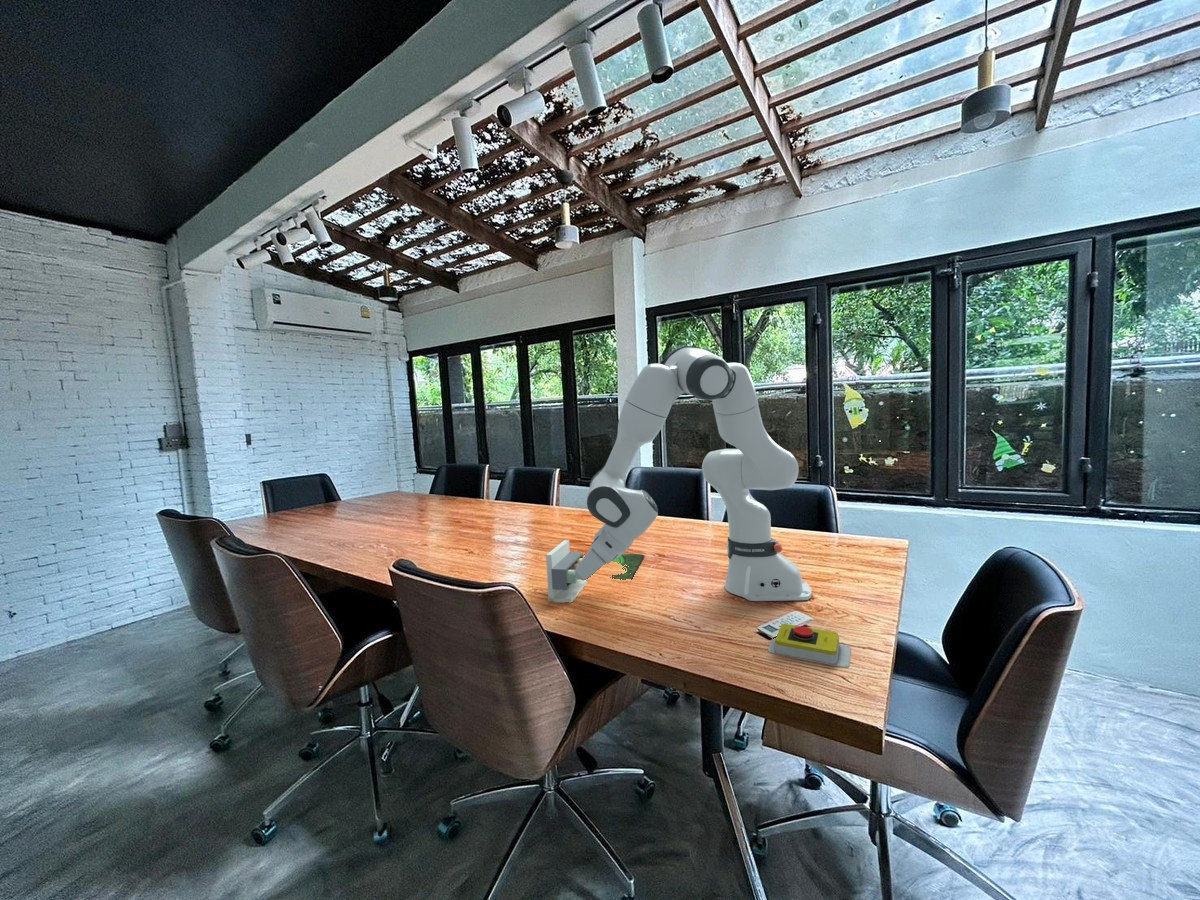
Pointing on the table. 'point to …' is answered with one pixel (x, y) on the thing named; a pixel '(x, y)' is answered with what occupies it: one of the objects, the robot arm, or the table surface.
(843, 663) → the emergency button
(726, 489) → the robot arm
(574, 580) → the sage button
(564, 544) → the console
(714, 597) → the table surface
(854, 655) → the table surface
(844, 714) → the table surface
